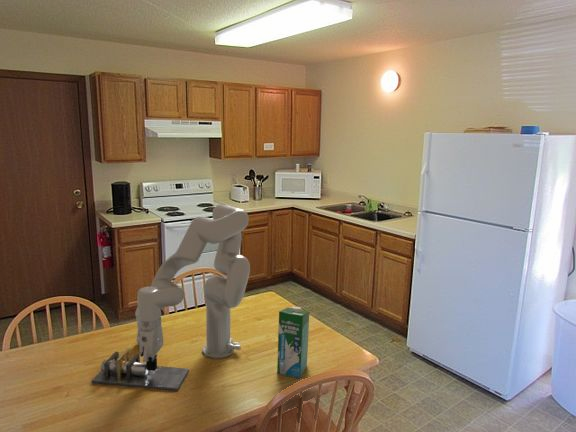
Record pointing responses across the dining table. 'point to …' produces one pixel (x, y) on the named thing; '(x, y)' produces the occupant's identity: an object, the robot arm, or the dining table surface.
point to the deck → (147, 379)
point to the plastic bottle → (137, 326)
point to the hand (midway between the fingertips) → (151, 369)
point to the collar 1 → (106, 364)
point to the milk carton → (293, 341)
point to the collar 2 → (128, 366)
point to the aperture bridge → (122, 357)
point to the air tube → (135, 367)
